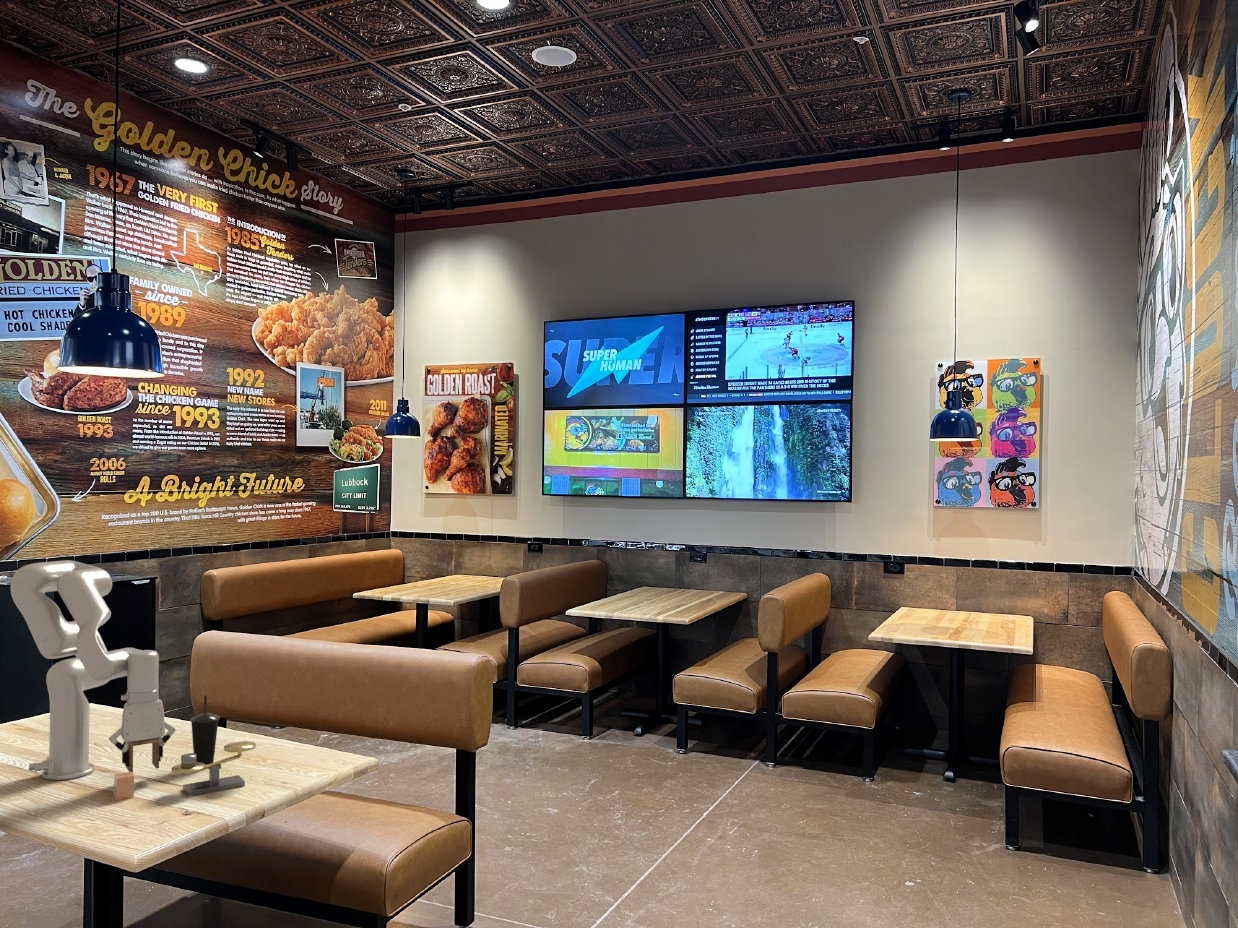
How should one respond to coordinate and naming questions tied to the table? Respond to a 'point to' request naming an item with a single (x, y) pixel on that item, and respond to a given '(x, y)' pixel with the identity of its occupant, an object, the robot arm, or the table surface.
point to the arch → (154, 752)
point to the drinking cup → (204, 735)
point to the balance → (212, 770)
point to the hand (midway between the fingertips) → (142, 762)
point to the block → (123, 785)
